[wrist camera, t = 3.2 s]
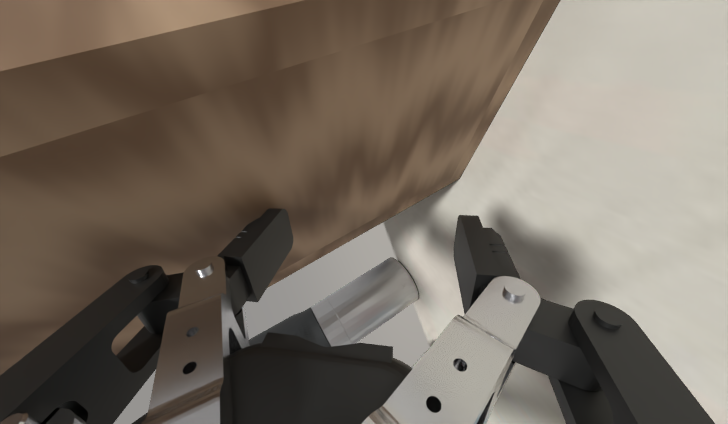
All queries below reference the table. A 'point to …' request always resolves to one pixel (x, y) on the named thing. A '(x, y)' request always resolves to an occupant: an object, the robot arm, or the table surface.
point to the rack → (227, 130)
